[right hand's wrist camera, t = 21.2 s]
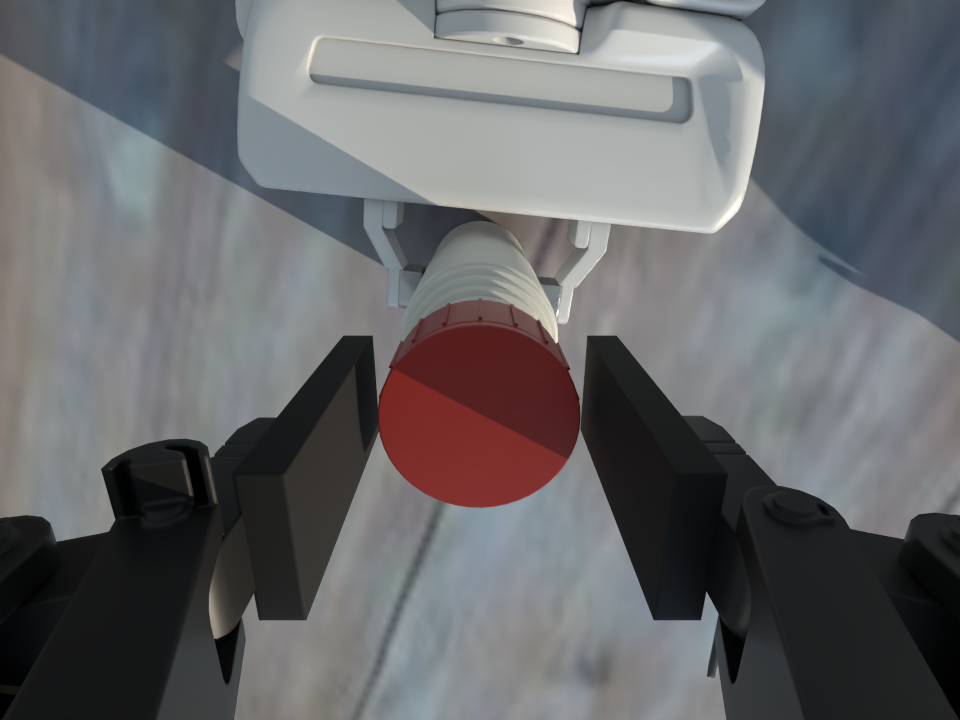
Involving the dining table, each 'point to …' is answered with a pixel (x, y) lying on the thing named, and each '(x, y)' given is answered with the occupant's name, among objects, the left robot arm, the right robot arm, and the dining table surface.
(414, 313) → the bottle
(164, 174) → the dining table surface
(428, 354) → the cap
